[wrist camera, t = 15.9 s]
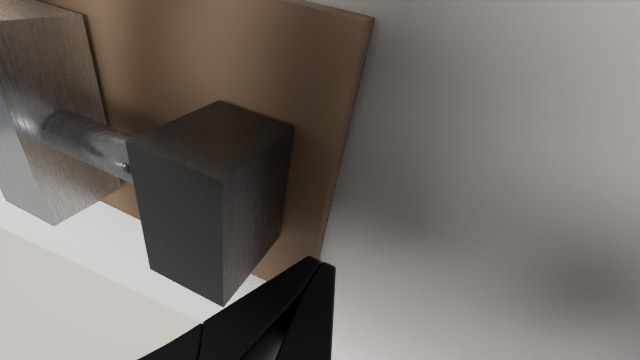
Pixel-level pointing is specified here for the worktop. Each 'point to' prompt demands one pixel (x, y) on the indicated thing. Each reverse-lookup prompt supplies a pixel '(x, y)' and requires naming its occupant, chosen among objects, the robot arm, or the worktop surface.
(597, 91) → the worktop surface
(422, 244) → the worktop surface
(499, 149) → the worktop surface
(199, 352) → the robot arm
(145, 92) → the base
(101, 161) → the block
